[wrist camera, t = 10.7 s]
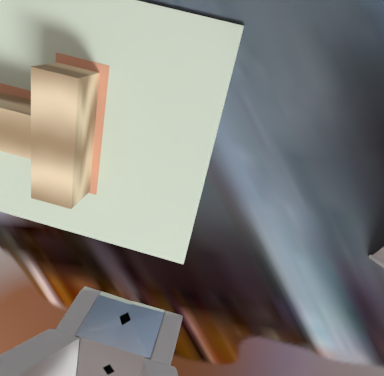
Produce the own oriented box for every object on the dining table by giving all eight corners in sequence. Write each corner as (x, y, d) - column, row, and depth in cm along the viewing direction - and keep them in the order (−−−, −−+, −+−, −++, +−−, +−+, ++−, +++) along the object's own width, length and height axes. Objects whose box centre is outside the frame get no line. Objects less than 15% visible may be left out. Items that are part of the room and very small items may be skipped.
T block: (-26, 41, 32) (-62, 43, 28) (99, 72, 31) (78, 78, 27) (-18, 162, 37) (-47, 176, 33) (89, 191, 36) (71, 209, 32)
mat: (-46, -44, 29) (-49, -45, 29) (244, 25, 28) (243, 25, 27) (-27, 201, 40) (-29, 203, 39) (183, 262, 38) (183, 264, 38)
